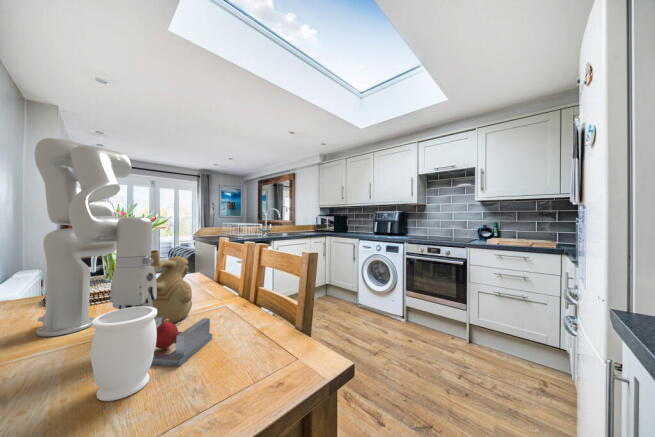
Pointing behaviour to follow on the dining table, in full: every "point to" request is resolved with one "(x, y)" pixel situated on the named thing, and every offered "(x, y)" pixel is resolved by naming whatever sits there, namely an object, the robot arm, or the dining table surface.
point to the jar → (123, 351)
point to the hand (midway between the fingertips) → (132, 329)
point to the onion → (166, 335)
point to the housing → (186, 344)
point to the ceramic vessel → (171, 288)
